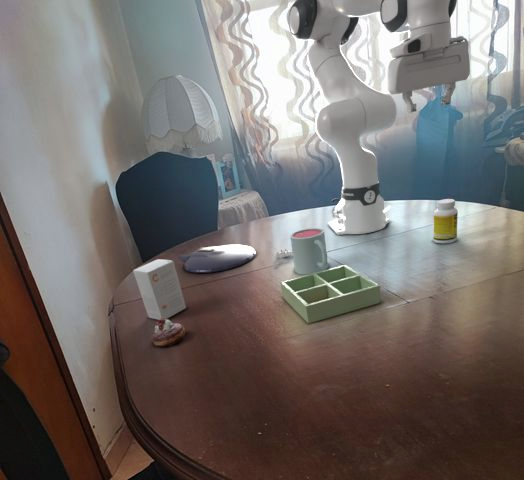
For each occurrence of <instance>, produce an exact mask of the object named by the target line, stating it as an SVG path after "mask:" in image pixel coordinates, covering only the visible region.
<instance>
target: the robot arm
mask: <svg viewBox="0 0 524 480" xmlns="http://www.w3.org/2000/svg"><path fill="white" fill-rule="evenodd" d="M457 2H458V0H295V1H294V3H292V6H291V7H290V10H289V13H288V27H289V31H290V34H291V35H292V37H293V38H294V40H297V41H301V42H307V41H313V43H312V44H311V45H310V47H309V49H308V51H307V55H306V56H307V58H306V59H307V64H308V67H309V71H310V73H311V76H312V78H313V81H314V83H315V85H316V86H317V88H318V91H320V92H319V93H320V95H321V96H322V98H323V100H324V101H325V102H326V103H327V105H324V106H322V107H321V108H320V109H319V110H318V112H317V114H316V117H315V122H314V127H315V132H316V134H317V135H318V136H317V137H318V138H319V139H320V140H321V141H322V142H324V143H325V144H327V145H328V146H329V147H330V148H331V149H332V150H333V151H334V153H335V154H336V156H337V158H338V162H339V164H340V171H341V178H342V187H340V189H341V196H340V198H341V199H340V198H339V197H335V198H333V199H332V200H331V202H332V203H334V202H335V201H338V203H337V205H336V206H334V207H333V208H332V213H331V214H332V218H333V219H332V220H331V221H329V222H328V226H329V227H330V229H332V231H333V232H335V233H336V234H337V235H338V236H339V235H340V236H342V235H363V234H364V235H365V234H370V233H373V232H377V231H380V230H383V229H384V228H386V226H387V224H388V223H390V218H387V217H386V216H387V215H386V212H387V211H389V210H390V209H391V206H390V205H388V206H387V207H386V206H385V199H384V197H383V196H381V195H380V194H381V183H380V181H379V170H378V158H377V156H376V155H375V154H374V153H373V152H372V151H370V150H368V149H367V148H364V147H363V146H362V143H361V138H363V137H368V136H372V135H377V134H379V133H381V132H384V131H386V130H388V129H390V128H391V127H393V125H394V124H395V121H396V119H397V115H398V107H397V104H396V103H397V102H396V101H395V99H394V98H393V97H392V96H393V95H399V94H402V95H401V96H402V100H403V102H404V103H405V105H406V112H407V114H412V113H416V112H417V103H414V102H413V100H412V98H411V97H413V91H419V90H423V89H428V88H433V87H438V86H443V85H444V89H445V90H446V91H445V94H444V96H443V97H441V99H440V100H441V106H448V105H451V103H452V96H453V94H454V92H455V90H456V88H457V87H456V85H457V82H462V81H467V80H468V78H469V77H470V75H471V62H470V52H469V51H470V50H469V49H470V47H469V46H470V44H469V43H470V42H469V40H468V39H467V38H465V37H464V36H463V35H462V36H461V35H459V36H457V37H451V36H450V35H451V17H452V15H453V14H454V12H455V10H456V7H457V4H458V3H457ZM378 13H379V14H380V21H381V24H382V26H383V28H384V29H385V30H386V32H388V33H389V34H402V33H408V37H407V38H405V39H403V40H402V41H400V42H399V43H397V44H395V45H393V46H392V47H391V48H389V52H388V55H389V58H390V59H391V60H390V62H389V63H388V67H387V79H386V80H387V84H386V85H387V91H388V92H389V93H384V92H382V91H379V90H376V89H375V88H373V87H371V86H369V85H368V84H366V82H364V81H362V80H361V79H360V78H359V77H358V76H357V75H356V73H355V72H354V70H353V68H352V67H351V64H350V63H349V62H348V59H347V58H346V57H345V55H344V54H343V52H342V50H341V46H344V45H346V44H347V43H348V42H349V40H350V37H352V36H353V34H354V32H355V30H356V29H357V26H358V24H359V19H360V17H365V16H370V15H374V14H378Z"/></svg>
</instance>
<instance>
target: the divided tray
mask: <svg viewBox="0 0 524 480" xmlns="http://www.w3.org/2000/svg"><path fill="white" fill-rule="evenodd" d="M280 287H281V294H282V298H283V299H284V300H285V301H286V302H287V303H288V304H289V305H290V307H292V309H294V310H295V311H296V313H298V314H299V316H300V317H301V318H302V319H303V320H304V321H305V322H307V324H313V323H315V322H318V321H322V320H326V319H329V318H332V317H333V318H334V317H337V316H339V315H342V314H345V313H350V312H353V311H356V310H360V309H363V308H367V307H371V306H373V305H374V306H375V305H377V304H380V303H382V300H381V299H382V298H381V297H382V295H381V285H380V284H378V283H377V282H375V281H373V280H371V279H370V278H369V277H367V276H365V275H363V274H361V273H360V272H358V271H357V270H356V269H354V268H352V267H350V266H349V265H347V264H343V265H342V264H341V265H339V266H336V267H332V268H327V269H326V270H324V271H320V272H317V273H313V274H304V275H302V276H298V277H295V278H291V279H287V280H283V281H280Z"/></svg>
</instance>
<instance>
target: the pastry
mask: <svg viewBox="0 0 524 480" xmlns="http://www.w3.org/2000/svg"><path fill="white" fill-rule="evenodd" d="M185 335H186V330H185V326H183V325H182V324H180V323H172V321H171V320H170V319H165V318H164V317H162V318H161V319H160V320H157V322H156V323H155V326H154V334H153V335H152V341H153V345H154V346H156V347H170V346H173V345H175V344H177V343H178V342H180V341H182V340H183V338H184V336H185Z"/></svg>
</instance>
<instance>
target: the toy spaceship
mask: <svg viewBox="0 0 524 480" xmlns="http://www.w3.org/2000/svg"><path fill="white" fill-rule="evenodd" d="M256 255H257V251H256V249H255V248H253V247H252V246H249V245H245V244H224V245H219V246H218V245H217V246H208V247H204V246H203V247H198V249H197V250H195V251H193V252H191V253H189V254H185V255H184V254H183V255H178V256H177V259H178V260H181V261H184V264H183V269H184V270H185V271H187V272H188V273H189V272H190V273H196V274H208V273H215V272H221V271H226V270H229V269H233V268H237V267H240V266H242V265H244V264H246V263H248V262H250V261H251V260H253V259H254V257H255V256H256Z"/></svg>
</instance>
